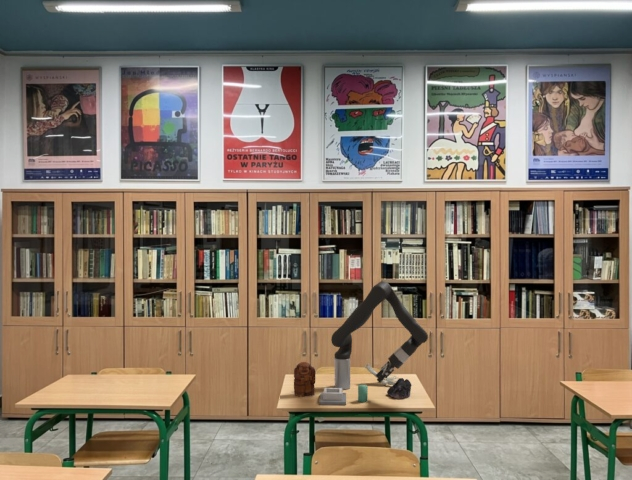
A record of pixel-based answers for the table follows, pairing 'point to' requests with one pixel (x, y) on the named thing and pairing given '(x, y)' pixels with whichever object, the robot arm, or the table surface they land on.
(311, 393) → the wooden figurine
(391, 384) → the skeletal model
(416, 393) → the table surface
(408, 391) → the crystal cluster
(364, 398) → the green cap
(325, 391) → the socket board
